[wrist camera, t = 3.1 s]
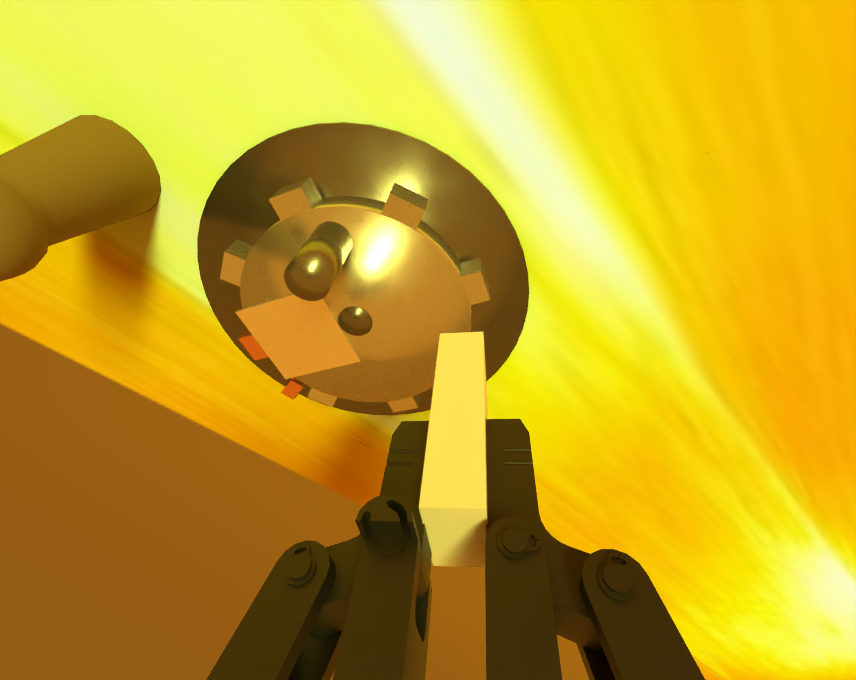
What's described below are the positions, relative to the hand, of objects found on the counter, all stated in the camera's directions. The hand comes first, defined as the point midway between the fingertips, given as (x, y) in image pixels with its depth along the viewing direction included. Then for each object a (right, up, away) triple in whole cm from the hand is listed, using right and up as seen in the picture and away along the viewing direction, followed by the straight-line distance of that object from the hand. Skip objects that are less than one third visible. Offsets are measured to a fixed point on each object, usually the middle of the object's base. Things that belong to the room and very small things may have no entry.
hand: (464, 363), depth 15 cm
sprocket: (-6, +4, +16) cm, 18 cm away
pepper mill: (-21, +12, +12) cm, 27 cm away
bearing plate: (-6, +4, +16) cm, 18 cm away
